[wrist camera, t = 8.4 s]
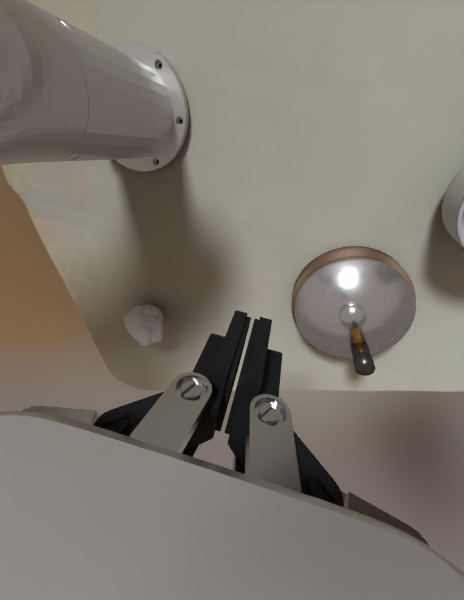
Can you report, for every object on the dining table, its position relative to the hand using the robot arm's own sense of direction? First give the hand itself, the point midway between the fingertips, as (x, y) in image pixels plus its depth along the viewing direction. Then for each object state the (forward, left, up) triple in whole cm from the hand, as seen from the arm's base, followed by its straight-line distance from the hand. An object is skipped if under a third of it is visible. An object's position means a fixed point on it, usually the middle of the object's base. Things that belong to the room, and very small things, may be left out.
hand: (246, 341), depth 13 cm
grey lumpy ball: (-17, -20, -27) cm, 37 cm away
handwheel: (+11, -9, -24) cm, 28 cm away
